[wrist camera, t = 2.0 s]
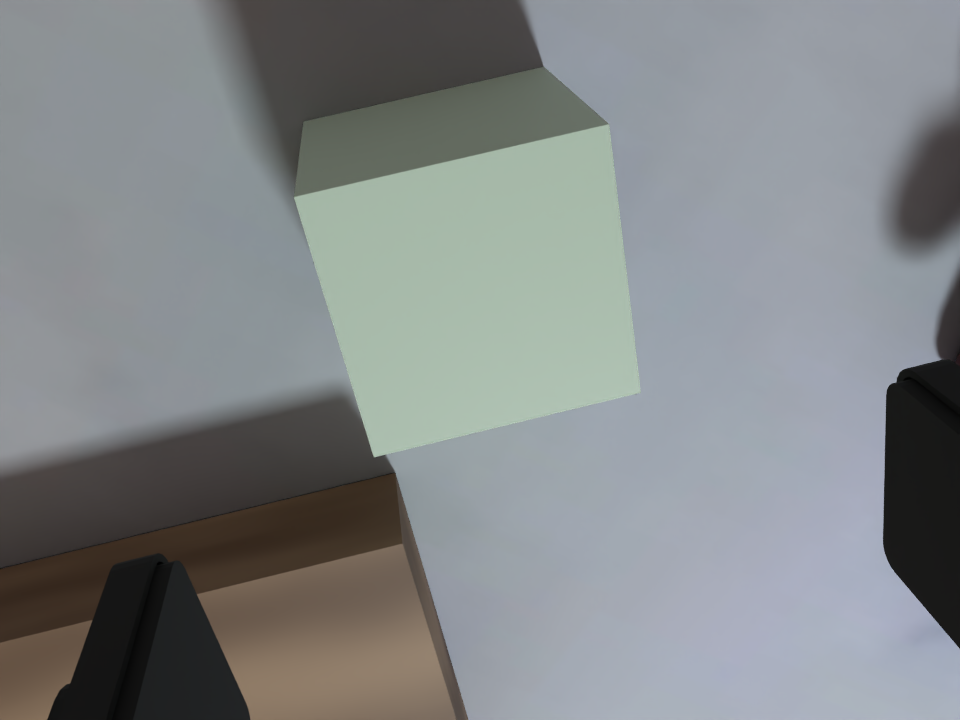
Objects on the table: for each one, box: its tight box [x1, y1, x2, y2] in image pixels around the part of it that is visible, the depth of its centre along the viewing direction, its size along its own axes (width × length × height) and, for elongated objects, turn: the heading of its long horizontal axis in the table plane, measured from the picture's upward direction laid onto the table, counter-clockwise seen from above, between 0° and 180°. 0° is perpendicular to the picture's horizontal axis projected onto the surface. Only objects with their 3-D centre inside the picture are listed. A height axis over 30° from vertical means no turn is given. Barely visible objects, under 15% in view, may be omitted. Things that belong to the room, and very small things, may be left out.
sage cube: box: [294, 67, 641, 457], centre depth 19 cm, size 6×6×6 cm
